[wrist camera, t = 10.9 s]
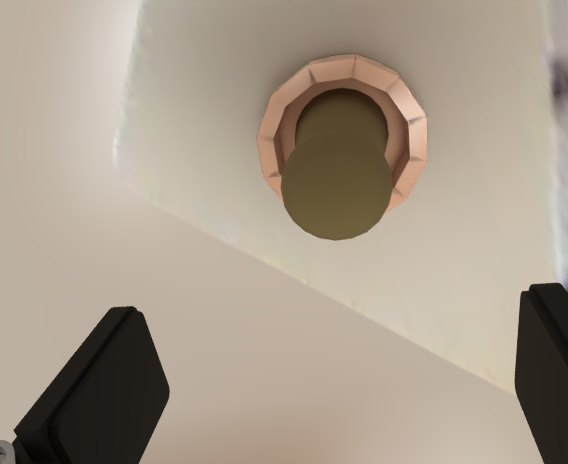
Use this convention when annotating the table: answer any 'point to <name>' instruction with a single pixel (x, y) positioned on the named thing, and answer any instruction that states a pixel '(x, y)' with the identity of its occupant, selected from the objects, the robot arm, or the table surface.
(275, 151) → the copper faceted bowl
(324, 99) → the cork
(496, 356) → the table surface
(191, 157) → the table surface
